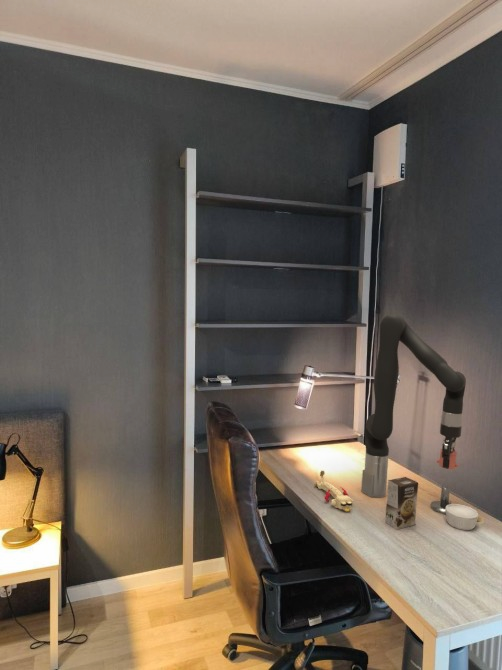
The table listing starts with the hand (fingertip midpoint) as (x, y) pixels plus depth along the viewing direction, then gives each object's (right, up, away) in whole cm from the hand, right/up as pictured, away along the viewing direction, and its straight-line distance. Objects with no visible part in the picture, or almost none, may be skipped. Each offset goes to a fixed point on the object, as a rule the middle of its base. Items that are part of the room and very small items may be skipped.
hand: (447, 465), depth 181 cm
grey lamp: (0, -18, +2) cm, 18 cm away
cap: (0, 0, 0) cm, 0 cm away
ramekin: (+1, -19, -10) cm, 21 cm away
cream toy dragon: (-43, -16, +7) cm, 47 cm away
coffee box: (-22, -18, -11) cm, 31 cm away
